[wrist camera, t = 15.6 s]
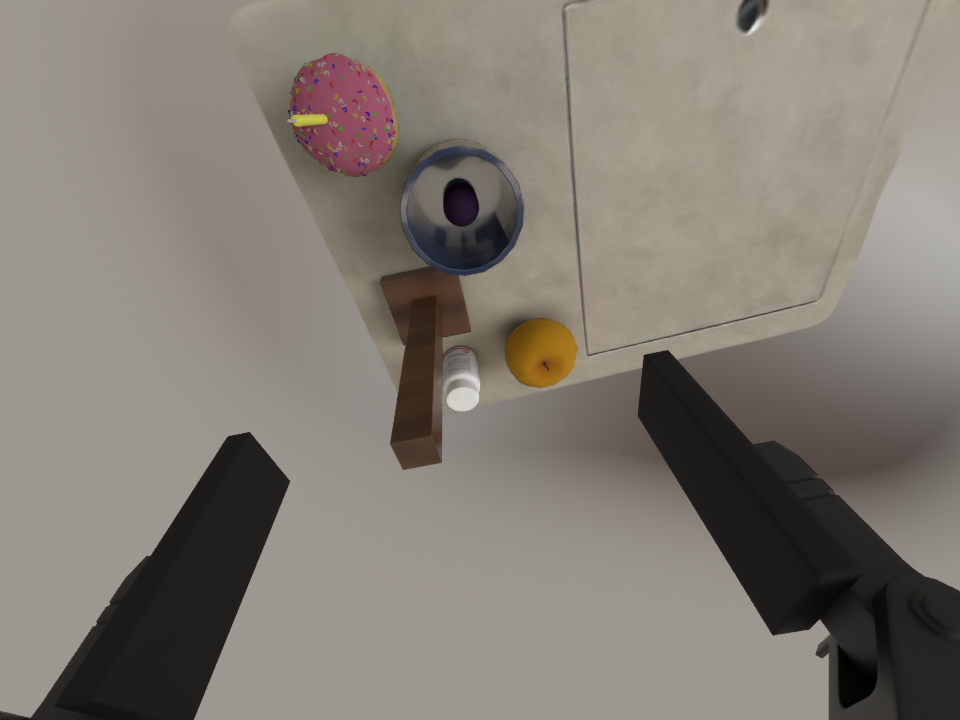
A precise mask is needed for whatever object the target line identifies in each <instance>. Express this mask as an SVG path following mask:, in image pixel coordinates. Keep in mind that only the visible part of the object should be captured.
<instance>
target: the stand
mask: <svg viewBox="0 0 960 720" xmlns="http://www.w3.org/2000/svg"><path fill="white" fill-rule="evenodd" d="M380 284H381V287H382V289H383V292H384V295H385V297H386V300H387V303H388V305H389V308H390V311H391V313H392V316H393V319H394V321H395V324H396V327H397V329H398V332H399V335H400V337H401V340H402V343H403V345H406V346H405V353H404V359H403V365H402V372H401V378H400V384H399V391H398V397H397V404H396V410H395V416H394V423H393V429H392V435H391V442H390V444H391V447H392V449H393V451H394V453H395V455H396V457H397V459H398V461H399V463H400V464H401V467H402V469H403V470H405V469H410V468H416V467H421V466H426V465H431V464H437V463H441V462H442V355H443V337H448V336H453V335H458V334H462V333H467V332H471V327H470V322H469V318H468V313H467V309H466V305H465V301H464V296H463V292H462V288H461V284H460V279H459V275H455V274H447V273H444V272H442V271H440V270H438V269H436V268H434V267H428V268H424V269H419V270H414V271H410V272H405V273H400V274H395V275H391V276H386V277H382V278H381V281H380Z"/></svg>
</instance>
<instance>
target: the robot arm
mask: <svg viewBox="0 0 960 720" xmlns="http://www.w3.org/2000/svg"><path fill="white" fill-rule="evenodd" d="M638 417H639V419H640V420H641V422H642V424H643V425H644V427H645V429H646V430H647V432H648V433H649V435H650V437H651V438H652V440H653V442H654V443H655V445H656V446H657V448H658V450H659V451H660V453H661V455H662V456H663V458H664V459H665V461H666V463H667V464H668V466H669V468H670V469H671V471H672V472H673V474H674V476H675V477H676V479H677V481H678V482H679V484H680V485H681V487H682V489H683V490H684V492H685V494H686V495H687V497H688V498H689V500H690V501H691V503H692V505H693V507H694V508H695V510H696V511H697V513H698V515H699V516H700V518H701V520H702V521H703V523H704V524H705V526H706V528H707V529H708V531H709V532H710V534H711V536H712V537H713V539H714V541H715V542H716V544H717V545H718V547H719V549H720V551H721V552H722V554H723V555H724V557H725V559H726V560H727V562H728V564H729V565H730V567H731V568H732V570H733V572H734V573H735V575H736V576H737V578H738V580H739V581H740V583H741V585H742V586H743V588H744V590H745V591H746V593H747V594H748V596H749V598H750V599H751V601H752V602H753V604H754V606H755V607H756V609H757V611H758V612H759V614H760V616H761V617H762V619H763V620H764V622H765V624H766V625H767V627H768V628H769V630H770V632H771V633H772V635H778V634H784V633H791V632H797V631H803V630H809V629H810V628H811V627H812V626H813V625H814V624H815V623H816V622H817V621H818V620H819V619H820V620H821V621H822V623H823V624H824V625H825V627H826V628H827V630H828V631H829V632H830V635H829V636H828V637H827V638H826V639H825V640H824V641H822V642H821V643H820V644H819V645H818V648H817V651H816V655H817V656H819V657H820V658H823V657H825V656H826V655H827V654H828V653H829V720H960V591H959V590H956V589H955V588H953V587H950V586H948V585H946V584H944V583H942V582H940V581H938V580H936V579H932V578H929V577H925V576H923V575H922V574H920V573H918V572H917V571H916V570H914V569H913V568H912V567H911V566H910V565H909V564H907V563H906V562H905V561H904V560H902V558H901V557H900V556H899V555H898V554H897V553H896V552H895V551H894V550H893V549H892V548H891V547H890V546H889V545H888V544H887V543H886V542H884V541H883V539H882V538H881V537H879V535H878V534H877V533H876V532H874V530H873V529H871V527H870V526H869V525H868V524H867V523H866V522H865V521H864V520H863V519H862V518H861V517H860V516H859V515H858V514H857V513H855V512H854V510H853V509H852V508H851V507H850V506H849V505H848V504H846V502H845V501H844V500H842V499H841V497H840V496H839V495H835V493H834V490H833V489H831V487H830V486H829V485H827V483H826V482H824V480H823V479H820V478H819V477H818V474H817V473H816V472H815V471H814V470H812V468H810V466H808V464H806V462H805V461H804V460H803V459H802V458H801V457H800V456H798V455H797V454H795V453H794V452H792V451H790V450H788V449H787V448H785V447H784V446H782V445H780V444H779V443H777V442H775V441H770V442H764V443H759V444H752V443H751V442H750V441H749V440H748V439H747V437H746V436H745V435H744V434H743V433H742V432H741V431H740V430H739V429H738V427H737V426H736V425H735V424H734V423H733V422H732V421H731V420H730V419H729V417H728V416H727V415H726V414H725V413H724V412H723V411H722V410H721V408H720V407H718V405H717V404H716V403H715V402H714V401H713V400H712V398H711V397H710V396H709V395H708V394H707V393H706V392H705V391H704V390H703V389H702V387H701V386H700V385H699V384H698V383H697V382H696V381H695V380H694V379H693V377H692V376H691V375H690V374H689V373H688V372H687V371H686V370H685V368H684V367H683V366H682V365H681V364H680V363H679V362H678V361H677V360H676V358H675V357H674V356H673V355H672V354H671V353H670V352H669V351H668V350H666V351H661V352H656V353H651V354H646V355H644V359H643V368H642V378H641V388H640V397H639V407H638ZM289 483H290V480H289V479H288V478H287V477H286V476H285V474H284V473H283V472H282V471H281V470H280V468H279V467H278V466H277V465H276V463H275V462H274V461H273V460H272V459H271V457H270V456H269V455H268V454H267V452H266V451H265V450H264V449H263V448H262V446H261V445H260V444H259V443H258V442H257V441H256V439H255V438H254V437H253V435H252V434H251V433H250V432H247V433H242V434H238V435H232V436H228V437H227V438H226V440H225V441H224V443H223V445H222V446H221V448H220V449H219V451H218V452H217V454H216V455H215V457H214V459H213V460H212V462H211V463H210V465H209V466H208V468H207V469H206V471H205V472H204V474H203V476H202V477H201V479H200V480H199V482H198V483H197V485H196V486H195V488H194V490H193V491H192V493H191V494H190V496H189V497H188V499H187V500H186V502H185V504H184V505H183V507H182V508H181V510H180V511H179V513H178V514H177V516H176V517H175V519H174V521H173V522H172V524H171V525H170V527H169V528H168V530H167V531H166V533H165V534H164V536H163V538H162V539H161V541H160V542H159V544H158V545H157V547H156V548H155V550H154V552H153V553H152V555H151V556H146V557H145V558H144V559H143V560H142V561H141V562H140V563H139V565H137V567H136V568H135V569H134V570H133V571H132V572H131V573H130V574H129V575H128V576H127V577H126V578H125V580H124V581H123V583H122V584H121V585H120V587H119V588H118V590H117V591H116V593H115V594H114V596H113V597H112V599H111V601H110V605H109V606H107V607H106V608H105V610H104V611H103V612H102V614H101V615H100V617H99V618H98V620H97V621H96V622H97V625H96V626H94V627H92V629H91V631H90V632H89V633H88V635H87V636H86V638H85V639H84V641H83V643H82V644H81V646H80V647H79V648H78V650H77V651H76V653H75V654H74V656H73V657H72V659H71V660H70V662H69V663H68V665H67V666H66V668H65V669H64V671H63V672H62V674H61V675H60V677H59V678H58V680H57V681H56V683H55V684H54V686H53V687H52V689H51V690H50V692H49V693H48V695H47V696H46V698H45V699H44V701H43V702H42V704H41V705H40V706H39V708H38V709H37V710H36V712H35V713H34V714H33V716H32V717H31V718H28V717H24V716H19V715H15V714H11V713H7V712H2V711H0V720H194V718H195V715H196V713H197V711H198V708H199V706H200V703H201V701H202V698H203V696H204V693H205V691H206V688H207V686H208V683H209V681H210V678H211V676H212V674H213V671H214V669H215V666H216V663H217V661H218V658H219V656H220V654H221V651H222V649H223V646H224V644H225V641H226V639H227V636H228V634H229V632H230V629H231V627H232V624H233V622H234V619H235V617H236V614H237V612H238V609H239V607H240V604H241V602H242V599H243V597H244V594H245V592H246V589H247V587H248V584H249V582H250V579H251V577H252V574H253V572H254V570H255V567H256V565H257V562H258V560H259V557H260V555H261V552H262V550H263V547H264V545H265V542H266V540H267V538H268V535H269V533H270V530H271V528H272V525H273V522H274V520H275V518H276V515H277V513H278V510H279V507H280V505H281V503H282V500H283V498H284V496H285V493H286V491H287V488H288V486H289Z"/></svg>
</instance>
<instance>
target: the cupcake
mask: <svg viewBox="0 0 960 720" xmlns="http://www.w3.org/2000/svg"><path fill="white" fill-rule="evenodd" d="M289 94H291V95H290V96H289V99H290V110H288V112H290V113H289V114H290V119H287V120H286V122H288V123H291V125H292V128H293V130H294V132H293V135H294V134H296V136H295V135H294V136H295V137H297V138H298V139H297V141H298V142H299V143H300V144H301V145H302V147H303V149H304V150H305V151H306V152H307V153H308V154H310V155H311V156H312V157H314V158H315V159H316V160H317V161H319V163H321V164H323V165H324V166H326V167H327V168H328V169H329V170H330V171H334V172H338V173H340V174H345V175H346V176H348V175H349V176H352V177H359V176H366V175H367V174H369V173H372V172H374V171H376V170H378V169H379V168H380V167H382V166H383V165H384V164H385V163H387V161H388V160H389V158H390V156H391V155H392V153H393V151H394V149H395V147H396V145H397V141H398V122H397V117H396V113H395V110H394V107H393V104H392V101H391V98H390V95H389V91H388V89H387V87H386V85H385V84H384V82H383V81H382V79H381V78H380V77H379V76H378V75H377V74H376V73H375V72H374V71H373V70H372V69H370V68H369V67H367V66H365V65H363V64H361V63H359V62H357V61H356V60H353V59H351V58H349V57H346V56H344V55H341V54H338V53H331V54H328V55H326V56H324V57H322V58H320V59H317V60H314V61H311V62H308V63H304V66H303V67H302V68H301V69H300V71H299V72H298V74H297V76H296V77H295V79H294V82H293V85H292V90H291V92H290V93H289Z"/></svg>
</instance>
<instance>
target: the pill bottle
mask: <svg viewBox="0 0 960 720" xmlns="http://www.w3.org/2000/svg"><path fill="white" fill-rule="evenodd" d="M443 388H444V392H445V394H446V400H447V404H448V405H449V407H451V408H452V409H454V410H456V411H468V410H470V409H472V408H474V407H475V406H476V405H477V403H478V401H479V394H478V393H479V390H480V377H479V369H478V362H477V357H476V354H475V353H474V352H473V351H472V350H471V349H469V348H466V347H455V348H452V349H451V350H449V351H448V352H447V353H446V354H445V356H444V359H443Z"/></svg>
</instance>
